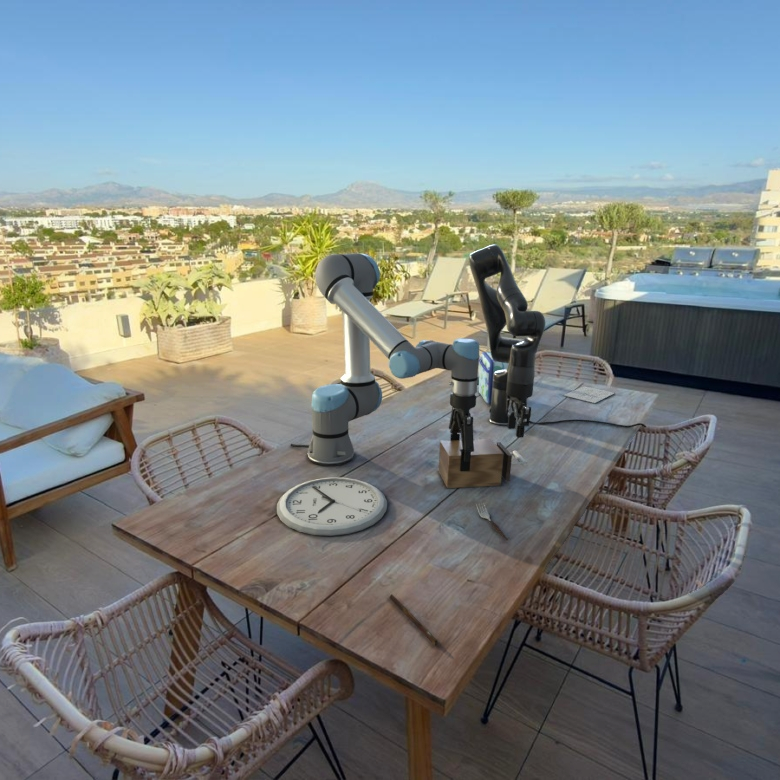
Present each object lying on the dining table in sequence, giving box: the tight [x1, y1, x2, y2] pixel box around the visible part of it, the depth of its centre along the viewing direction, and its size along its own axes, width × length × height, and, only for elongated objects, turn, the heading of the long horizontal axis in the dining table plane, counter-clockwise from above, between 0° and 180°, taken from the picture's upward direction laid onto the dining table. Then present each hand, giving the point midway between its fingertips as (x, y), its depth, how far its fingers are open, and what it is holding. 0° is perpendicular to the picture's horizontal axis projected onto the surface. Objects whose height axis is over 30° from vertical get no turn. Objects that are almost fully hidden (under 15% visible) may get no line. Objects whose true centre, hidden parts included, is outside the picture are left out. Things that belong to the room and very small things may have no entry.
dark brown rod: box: [389, 593, 438, 646], centre depth 101 cm, size 15×1×1 cm, turn 34°
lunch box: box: [477, 351, 509, 406], centre depth 230 cm, size 26×11×21 cm, turn 179°
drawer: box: [496, 441, 528, 482], centre depth 159 cm, size 21×10×8 cm, turn 98°
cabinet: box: [438, 438, 503, 489], centre depth 158 cm, size 16×11×10 cm
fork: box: [475, 502, 508, 541], centre depth 134 cm, size 3×16×2 cm, turn 16°
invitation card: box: [562, 385, 616, 404], centre depth 242 cm, size 21×1×15 cm
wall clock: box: [276, 476, 388, 537], centre depth 142 cm, size 30×2×30 cm
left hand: (459, 462), depth 157 cm, fingers closed on cabinet, 11 cm apart
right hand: (515, 432), depth 157 cm, fingers open, 6 cm apart
